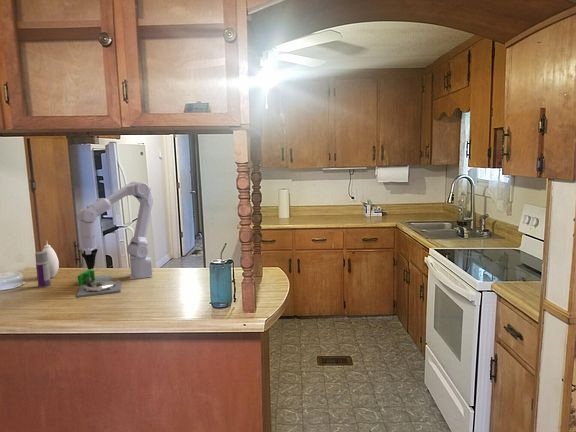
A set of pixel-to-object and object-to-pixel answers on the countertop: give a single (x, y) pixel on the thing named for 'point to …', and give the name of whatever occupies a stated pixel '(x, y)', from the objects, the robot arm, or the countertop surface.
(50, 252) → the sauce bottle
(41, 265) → the container
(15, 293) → the countertop surface
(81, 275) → the pipe clamp
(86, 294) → the mount plate
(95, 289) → the sprocket
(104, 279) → the mat
